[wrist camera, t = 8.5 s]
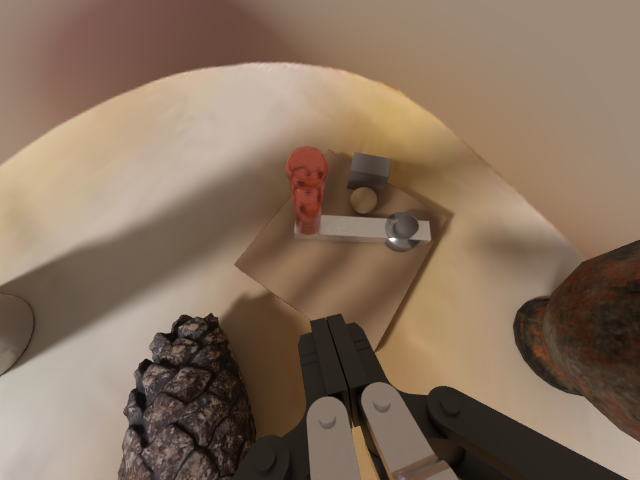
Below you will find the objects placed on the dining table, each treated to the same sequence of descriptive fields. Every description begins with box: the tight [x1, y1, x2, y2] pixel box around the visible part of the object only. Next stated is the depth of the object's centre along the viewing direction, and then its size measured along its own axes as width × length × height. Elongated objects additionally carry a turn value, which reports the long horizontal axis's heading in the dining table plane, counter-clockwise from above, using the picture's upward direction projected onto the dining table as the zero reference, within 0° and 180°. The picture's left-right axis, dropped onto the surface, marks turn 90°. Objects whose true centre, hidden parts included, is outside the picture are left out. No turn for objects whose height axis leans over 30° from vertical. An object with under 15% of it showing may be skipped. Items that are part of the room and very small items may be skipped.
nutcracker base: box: [234, 150, 447, 351], centre depth 30 cm, size 18×20×6 cm
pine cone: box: [118, 313, 256, 480], centre depth 21 cm, size 10×18×10 cm, turn 23°
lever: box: [286, 146, 431, 252], centre depth 24 cm, size 16×4×14 cm, turn 87°
